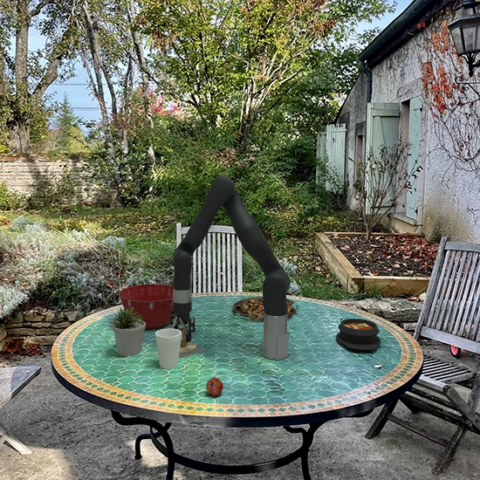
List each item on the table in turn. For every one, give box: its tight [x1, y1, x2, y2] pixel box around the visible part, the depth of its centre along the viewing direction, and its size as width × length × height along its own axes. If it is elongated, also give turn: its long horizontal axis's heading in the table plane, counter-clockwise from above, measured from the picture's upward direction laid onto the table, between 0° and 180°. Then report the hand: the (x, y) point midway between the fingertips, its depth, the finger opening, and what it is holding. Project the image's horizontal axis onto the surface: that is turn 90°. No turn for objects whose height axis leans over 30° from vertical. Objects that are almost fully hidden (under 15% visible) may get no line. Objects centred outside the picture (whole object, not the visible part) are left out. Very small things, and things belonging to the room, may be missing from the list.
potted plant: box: [108, 307, 146, 357], centre depth 187 cm, size 13×14×20 cm
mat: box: [179, 345, 207, 359], centre depth 192 cm, size 16×12×1 cm
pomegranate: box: [205, 376, 224, 397], centre depth 156 cm, size 6×6×8 cm
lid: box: [178, 327, 197, 354], centre depth 191 cm, size 11×11×8 cm
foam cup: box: [154, 328, 182, 370], centre depth 175 cm, size 10×9×13 cm
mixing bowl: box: [118, 283, 173, 330], centre depth 221 cm, size 28×28×15 cm
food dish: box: [232, 296, 299, 323], centre depth 243 cm, size 35×33×8 cm
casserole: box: [335, 318, 382, 351], centre depth 203 cm, size 25×19×8 cm
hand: (182, 339), depth 191 cm, fingers open, 8 cm apart
